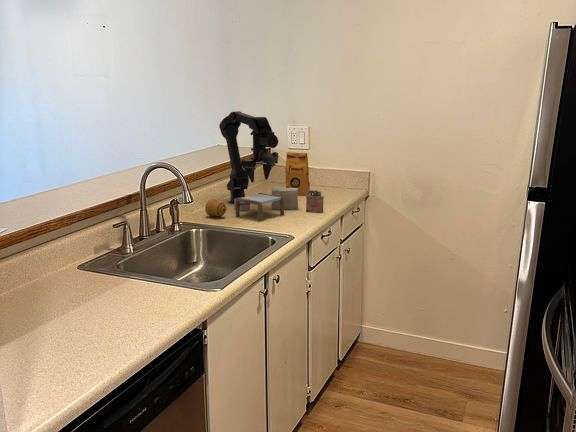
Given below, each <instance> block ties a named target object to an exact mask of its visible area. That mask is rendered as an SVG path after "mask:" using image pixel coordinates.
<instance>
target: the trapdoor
mask: <svg viewBox="0 0 576 432" xmlns="http://www.w3.org/2000/svg"><path fill="white" fill-rule="evenodd" d="M264 194H265V193H263V194H258V193H256V194H253V195H249V196H245V197H243V198H242V199H247V200H253V201H258V202H262V205H265V204H269V203H272V202H274V201H278V200H281V197H275V196H269V195H270V194H269V195H264Z"/></svg>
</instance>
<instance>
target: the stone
mask: <svg viewBox="0 0 576 432" xmlns="http://www.w3.org/2000/svg"><path fill="white" fill-rule="evenodd" d="M241 198H243V197H241ZM240 203H241V202H240ZM233 204H234V205H233V206H234V209H233V210H235V211H236V199H234V203H233ZM250 210H251V204H246V205H242V206H240V212H245V211H250Z"/></svg>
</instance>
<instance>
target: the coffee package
mask: <svg viewBox="0 0 576 432" xmlns="http://www.w3.org/2000/svg"><path fill="white" fill-rule="evenodd" d="M285 156H286V160H285V166H284V167H285V170H284V172H285V188H298V197H301V196H302V197H306V195H310V194H311V193H308V190H311V189H310V187H311V186H310V184H311V183H310V168H309V157H308V153H307V152H292V151H291V152H290V151H287V152H286V155H285Z"/></svg>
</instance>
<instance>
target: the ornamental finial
mask: <svg viewBox="0 0 576 432" xmlns="http://www.w3.org/2000/svg"><path fill="white" fill-rule="evenodd" d="M204 209H205V214H206V215H207V216H209V217H211V218H213V217H215V216H217V217H223V216H224V215H225V214H226V212H227V206H226V204H225V203H224V202H220V201H218V200H217V199H215V198H214V199H209V200H208V201H207V202H206V204H205V206H204Z"/></svg>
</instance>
